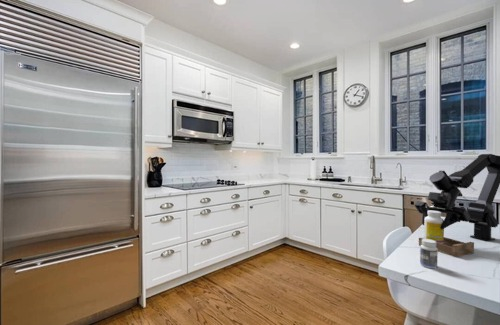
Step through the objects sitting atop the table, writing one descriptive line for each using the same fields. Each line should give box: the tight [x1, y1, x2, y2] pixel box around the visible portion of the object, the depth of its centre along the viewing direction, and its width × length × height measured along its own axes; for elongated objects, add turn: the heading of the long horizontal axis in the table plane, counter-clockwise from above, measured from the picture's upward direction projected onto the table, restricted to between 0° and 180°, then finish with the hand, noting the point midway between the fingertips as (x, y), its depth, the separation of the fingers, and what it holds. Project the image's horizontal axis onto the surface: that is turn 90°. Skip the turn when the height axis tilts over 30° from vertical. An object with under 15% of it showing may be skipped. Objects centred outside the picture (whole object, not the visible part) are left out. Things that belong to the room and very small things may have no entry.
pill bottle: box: [419, 238, 439, 269], centre depth 85 cm, size 5×5×8 cm
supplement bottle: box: [423, 210, 445, 244], centre depth 105 cm, size 7×7×13 cm
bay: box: [418, 236, 475, 258], centre depth 101 cm, size 11×14×4 cm
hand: (431, 226), depth 105 cm, fingers closed on supplement bottle, 7 cm apart
